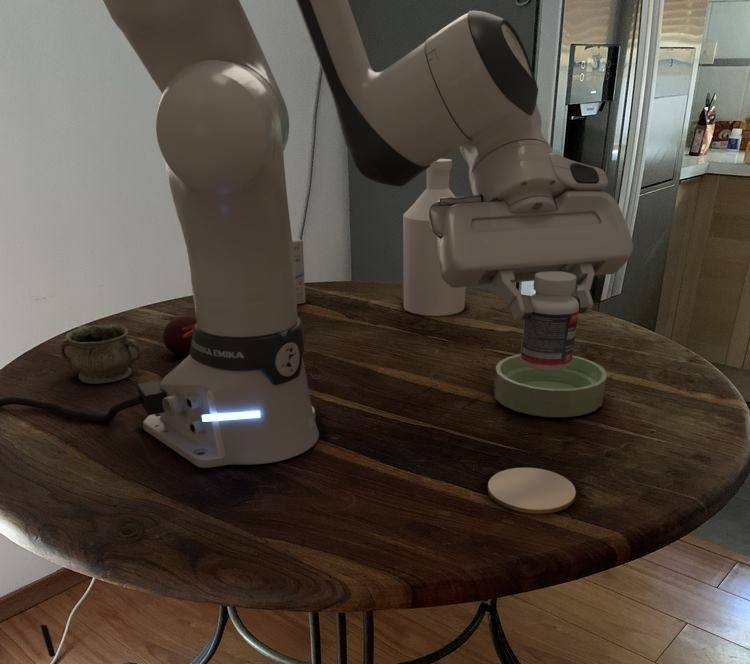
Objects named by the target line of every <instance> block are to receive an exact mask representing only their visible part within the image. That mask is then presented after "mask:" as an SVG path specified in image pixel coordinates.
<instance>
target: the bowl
mask: <svg viewBox="0 0 750 664" xmlns="http://www.w3.org/2000/svg"><path fill="white" fill-rule="evenodd" d="M520 354H521V353H518V354H515V355H511V356H506V357H504V358H503V359H501V360H500V361H498V363H497V364H496V366H495V368H494V369H495V370H494V383H493V395H494V399H495V400H496V401H497V402H498V403H499V404H501V406H503V407H505V408H508V409H511V410H512V411H515V412H518V413H522V414H526V415H529V416H535V417H536V416H537V417H544V418H572V417H577V416H578V417H579V416H584V415H586V414H590V413H593V412H595V411H596V410H598V409H599V408H600V407H602V406H603V402H604V398H605V391H606V385H607V379H608V372H607V371H606V369H605V367H604V366H602V365H600V364H599V363H597V362H596V361H592V360H590V359H587V358H585V357H582V356H578V355H573V356H572V362H571V365H570V366H569V367H567V368H565V369H562V370H555V371H546V370H537V369H533V368H530V367H527V366H525V365H524V364H522V362H521V360H520Z"/></svg>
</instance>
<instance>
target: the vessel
mask: <svg viewBox="0 0 750 664" xmlns="http://www.w3.org/2000/svg"><path fill="white" fill-rule="evenodd" d="M128 335H129V330H128V328H127V327H125V326H123V325H119V324H93V325H88V326H87V325H86V326H81V327H79V328H76V329H73V330H71V331H69V332H67V333H66V334H65V338H64V339H62V340H61V341H60V344H59V353H60V356H61V357H62V359H63V360H64V361H65V362H66V363H67V365H68V368H69V369H71V370H73V371H75V370H78V371H79V373H78V379H79V381H81V382H82V383H85V384H94V385H99V384H101V385H102V384H108V383H114V382H118V381H120V380H124V379H126V378H128V377H130V375H131V374H132V371H134V372H137V371H139V370H140V362H141V361H142V359H143V358H142V357H143V350H142V348H141V346H140V345H139V343H138V342H137V341H136V339H133V338H128V337H127V336H128ZM66 347H70V351H69V356H67V354H66V352H65V349H66ZM132 348H134V349H135V350H136V351H137V357H135V358H134V354H133V351H132ZM129 365H130V366H131V367H129ZM131 368H132V369H131Z"/></svg>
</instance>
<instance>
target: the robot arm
mask: <svg viewBox="0 0 750 664" xmlns="http://www.w3.org/2000/svg"><path fill="white" fill-rule="evenodd" d="M102 1H103V3H104V5H105V7H106V9H107V12H108V13H109V15H110V18H111V20H112V21H113V23H114V24H115V25H116V26H117V28H118V29H119V30H120V32H121V33H122V35H123V36H124V37H125V39H126V40H127V41H128V43H129V45H130V47H131V48H132V49H133V51H134V53H135V54H136V55H137V57H138V59H139V60H140V62H141V64H142V65H143V67H144V68H145V70H146V71H147V74H148V75H149V76H150V78H151V80H152V82H153V83H154V85H155V86H156V88H157V89H158V91H159V93H160V95H161V97H160V100H159V103H158V107H157V111H156V118H155V119H156V120H155V131H156V139H157V144H158V147H159V151H160V153H161V155H162V157H163V162H164V165H165V171H166V175H167V179H168V184H169V189H170V192H171V197H172V200H173V204H174V209H175V211H176V216H177V219H178V223H179V226H180V230H181V234H182V237H183V241H184V246H185V250H186V255H187V262H188V268H189V269H188V270H189V275H190V276H189V277H190V284H191V291H192V298H193V306H194V312H195V318H196V320H197V323H196V324H194V325H191V326H188V327H184V328H182V330H187V329H192V331H190V332H188V333H186V334H185V335H183V337H184V338H186V337H189V336H192V341H191V347H190V355H189V356H187V357H185V358H184V359H182V361H181V362H180V363H178V364H177V365H176V366H175V367H174V368H173V369H172V370H171V371H170V372H168V373H167V374H166V375H165V376H164V377H163V378H162V380H161V381H160V383H159V382H158V380H152V381H146V382H141V383H137V384H136V386H137V387H136V388H137V392H138V396H136V397H133V398H130V399H127V400H126V399H125V400H124V401H121V402H119V403H117V404H114V405H113V406H111V408H109V410H108V413H106V414H95V413H89V412H83V411H79V410H75V409H71V408H67V407H65V406H63V405H61V404H57V403H53V402H47V401H41V400H35V399H30V398H24V397H16V396H13V397H12V396H11V397H4V398H0V408H2V407H4V406H10V405H11V406H12V405H18V406H26V407H31V408H35V409H42V410H47V411H54V412H57V413H59V414H62V415H64V416H66V417H70V418H75V419H79V420H82V421H83V420H84V421H88V422H96V423H108V422H111V421H113V420H114V419H115V418H116V416H117V414H118V413H119V412H121V411H124V410H126V409H129V408H132V407H136V406H138V405H141V406H142V408H143V410H144V411H145V412H146V414H147V415H148V416H147V417H145V418H144V419H143V421H142V428H143V430H144V431H145V432H147V434H149V435H151V436H152V437H154V438H155V439H157V440H158V441H159V442H160V443H162V444H164V445H165V446H167V447H168V448H169V449H171V450H172V451H174V452H175V453H177V454H178V455H180V456H181V457H182V458H184V459H185V460H187V461H189V462H190V463H191V464H193V465H194V466H196V467H198V468H201V469H209V468H218V467H223V466H229V465H230V466H231V465H241V466H244V465H245V466H246V465H247V466H248V465H250V466H251V465H253V466H254V465H263V464H264V465H265V464H271V463H277V462H282V461H285V460H288V459H291V458H294V457H297V456H299V455H301V454H304V453H305V452H307V451H308V450H311V448H313V446H315V445H316V443H317V442H318V440H319V438H320V432H319V429H318V426H317V422H316V419H317V418H316V417H317V414H316V409H315V407H314V406H313V405H312V402H311V395H310V389H309V384H308V383H309V382H308V378H307V373H306V367H305V362H304V357H303V356H304V352H305V344H304V343H305V342H304V337H305V335H304V333H305V332H304V329H303V322H302V319H301V318H300V317H299V315H298V304H297V297H296V281H295V265H294V250H293V242H292V236H293V235H292V228H291V227H292V226H291V220H290V218H291V217H290V211H289V200H288V192H287V191H288V190H287V181H286V169H285V157H284V151H285V150H286V147H287V144H288V140H289V135H290V118H289V117H290V115H289V111H288V107H287V104H286V101H285V99H284V96H283V94H282V92H281V90H280V88H279V85H278V83H277V80H276V77H275V76H274V74H273V72H272V69H271V67H270V65H269V62H268V60H267V58H266V56H265V54H264V51H263V49H262V47H261V45H260V42H259V40H258V38H257V35H256V33H255V30H254V29H253V27H252V25H251V23H250V20H249V17H247V14H246V12H245V9H244V8H243V6H242V3H241V1H240V0H102ZM295 2H296V5H297V8H298V10H299V13H300V15H301V18H302V21H303V23H304V26H305V29H306V32H307V34H308V36H309V39H310V42H311V44H312V47H313V49H314V54H315V55H316V58H317V61H318V63H319V66H320V68H321V71H322V74H323V76H324V79H325V82H326V84H327V87H328V90H329V92H330V95H331V98H332V102H333V105H334V109H335V113H336V116H337V120H338V123H339V127H340V130H341V133H342V137H343V140H344V144H345V145H346V148H347V151H348V153H349V155H350V158H351V160H352V162H353V163H354V165H355V167H356V168H357V170H358V171H359V172H360V174H361V175H362V176H363V177H364V178H366V179H368V180H370V181H372V182H374V183H378V184H382V185H386V186H391V187H404V186H406V185H407V184H408V183H410V182H411V181H413V180H414V179H415V178H416V177H418V176H419V175H421V174H422V173H423V172H424V171H427V168H429V167H430V165H431V164H432V163H434V162H435V161H437V160H439V159H443V158H444V157H446V156H447V155H449V154H451V153H452V152H454V151H456V150H457V149H459V151H460V154H461V156H462V157H463V159H464V160H465V162H466V163H467V165H468V181H469V186H470V189H471V192H472V195H463V196H455V197H454V198H453V197H443V198H440V199H439V201H438V202H436V203H434V204H433V205H432V206H431V207H430V209H429V213H428V214H429V221H430V225H431V228H432V231H433V232H434V234H435V235H436V236H437V249H438V258H439V264H440V270H441V275H442V278H443V280H444V281H445V282H446V283H447V284H449V285H450V286H451V287H466V288H467V287H475V286H476V287H477V286H478V287H479V286H487V285H488V286H489V285H492V288H493V292H494V294H496V295H497V297H499V299H501V300H502V301H503V302H504V303H505V305H507V307H509V309H510V312H511V315H512V319H513V320H514V321H521V320H522V321H524V319H529V318H530V316H531V315H532V314H533V312H534V307H533V305H532V304H531V302H532V300H531V297H530V296H531V295H523V293H521V292H520V290H518V288H517V287H516V286H515V285H514V283H522V282H534V277H535V274H536V273H538V272H543V271H561V272H567V273H571V274H574V275H575V276H576V286H577V289H576V290H575V291H574V293H573V295H572V297H574V298H575V299H576V300H577V301H578V303H579V312H578V315H581V314H588V313H589V312H590V311H591V310H592V309H593V308H594V301H593V297H592V294H591V288H592V285H593V281H594V277H595V276H604V275H605V276H607V275H613V274H616V273H617V272H618V271H619V270H620V269H621V268H622V267H624V265H625V264H626V263H627V262H628V260H629V259H630V258H631V256H632V253H633V251H634V243H633V239H632V236H631V232H630V230H629V227H628V225H627V222H626V219H625V217H624V214H623V212H622V210H621V208H620V206H619V204H618V202H617V201H616V199H615V198H614V197H613V196H612V195H611V194H609V193H607V192H606V191H605V190H606V188H607V186H608V184H609V180H608V179H609V178H608V176H607V174H606V171H604V169H602V168H600V167H597V166H593V165H590V164H585V163H581V162H578V161H575V160H573V159H569V158H566V157H565V156H562V155H560V154H558V153H554V152H553V149H552V146H551V145H550V142H549V141H548V140H547V139H546V137H545V136H544V134H543V121H542V115H541V111H540V108H539V105H538V103H537V102H538V95H539V87H538V84H537V81H536V78H535V75H534V72H533V68H532V65H531V62H530V59H529V55H528V54H527V51H526V48H525V46H524V43H523V42H522V40H521V38H520V36H519V34H518V33H517V31H516V29H515V28H514V27H513V25H512V24H511V23H510V22H509V21H508V20H507V19H504V18H502V17H500V16H498V15H495V14H492V13H489V12H486V11H482V10H469V11H468V12H467V13H465V14H463V15H461V16H459V17H458V18H456V19H454V20H453V21H451V22H450V23H449V24H447V25H446V26H444V27H442V28H441V29H440V30H438V31H437V32H435V33H434V34H432V35H431V36H429V37H428V38H426V39H425V41H424V42H423V43H422V44H420V45H418V46H417V47H416V48H414V49H413V50H411V51H410V52H408V53H407V54H406V55H404V56H403V57H401V58H400V59H398V60H397V61H395V62H394V63H392V64H391V65H390V66H388V67H387V68H385V69H384V70H381V71H374V70H373V68H372V66H371V63H370V60H369V58H368V55H367V52H366V49H365V46H364V43H363V40H362V37H361V35H360V31H359V28H358V25H357V22H356V20H355V17H354V15H353V11H352V8H351V5H350V2H349V0H295ZM40 629H41V632H42V635H43V639H44V642H45V646H46V649H47V653H48V656H49V657H50V658H52V657H55V656H56V652H55V649H54V644H53V641H52V638H51V634H50V631H49V627H48V625H47V624H40Z"/></svg>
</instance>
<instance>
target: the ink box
mask: <svg viewBox="0 0 750 664" xmlns="http://www.w3.org/2000/svg"><path fill="white" fill-rule="evenodd" d="M292 242H293V250H294V265H295V281H296V297H297V305H301V304H306V284H305V283H306V282H305V281H306V280H305V258H304V241H303V240H301V239H299V238H298V237H297V236H295V235H292Z"/></svg>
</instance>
